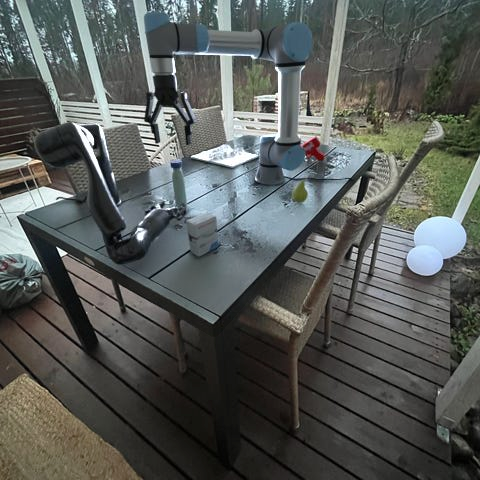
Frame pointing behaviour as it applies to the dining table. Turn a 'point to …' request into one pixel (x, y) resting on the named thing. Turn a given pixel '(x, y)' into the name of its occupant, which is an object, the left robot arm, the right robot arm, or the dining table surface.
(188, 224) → the ink box
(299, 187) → the fruit
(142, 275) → the dining table surface
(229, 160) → the relief map
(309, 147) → the toy gun
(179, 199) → the bottle
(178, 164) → the cap
